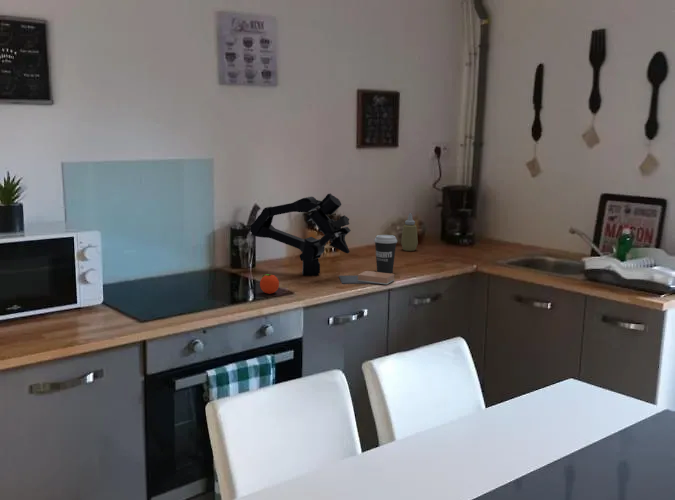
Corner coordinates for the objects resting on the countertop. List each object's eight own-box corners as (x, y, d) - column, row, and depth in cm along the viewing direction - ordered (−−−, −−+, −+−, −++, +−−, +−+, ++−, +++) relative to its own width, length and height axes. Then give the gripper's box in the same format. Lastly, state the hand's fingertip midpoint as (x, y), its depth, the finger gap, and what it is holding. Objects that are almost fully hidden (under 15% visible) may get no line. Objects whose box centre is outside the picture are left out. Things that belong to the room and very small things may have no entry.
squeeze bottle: (398, 249, 341) (399, 212, 338) (413, 248, 344) (414, 211, 340) (404, 252, 334) (405, 214, 330) (420, 251, 336) (421, 214, 333)
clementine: (254, 292, 253) (253, 273, 252) (269, 289, 258) (269, 270, 257) (268, 296, 248) (267, 277, 246) (283, 293, 252) (283, 274, 251)
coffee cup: (369, 270, 293) (370, 235, 290) (390, 269, 296) (391, 234, 293) (378, 275, 284) (379, 238, 281) (400, 273, 287) (401, 237, 284)
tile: (358, 274, 271) (387, 278, 266) (365, 270, 278) (394, 273, 273) (357, 281, 271) (387, 284, 266) (365, 276, 278) (394, 280, 274)
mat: (341, 283, 268) (341, 282, 268) (338, 276, 280) (338, 275, 280) (378, 283, 270) (378, 282, 270) (373, 276, 281) (373, 275, 281)
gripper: (326, 212, 266) (353, 243, 263) (346, 206, 283) (371, 236, 280) (308, 230, 270) (333, 261, 268) (328, 224, 287) (352, 253, 285)
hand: (348, 252), depth 275 cm, fingers closed
